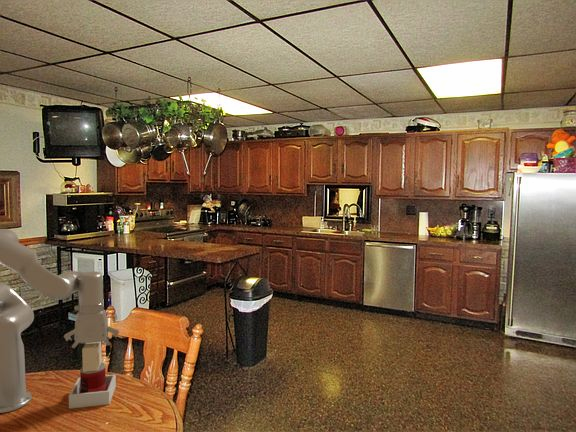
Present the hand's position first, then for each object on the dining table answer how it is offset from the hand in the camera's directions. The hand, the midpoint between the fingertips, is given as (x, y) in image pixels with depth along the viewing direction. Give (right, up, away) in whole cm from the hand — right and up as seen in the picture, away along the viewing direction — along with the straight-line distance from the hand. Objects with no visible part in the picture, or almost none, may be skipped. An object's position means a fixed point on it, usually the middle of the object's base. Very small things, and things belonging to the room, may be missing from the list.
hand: (92, 356), depth 139 cm
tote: (0, -15, +1) cm, 15 cm away
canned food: (0, -15, +1) cm, 15 cm away
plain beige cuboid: (0, -4, 0) cm, 4 cm away
